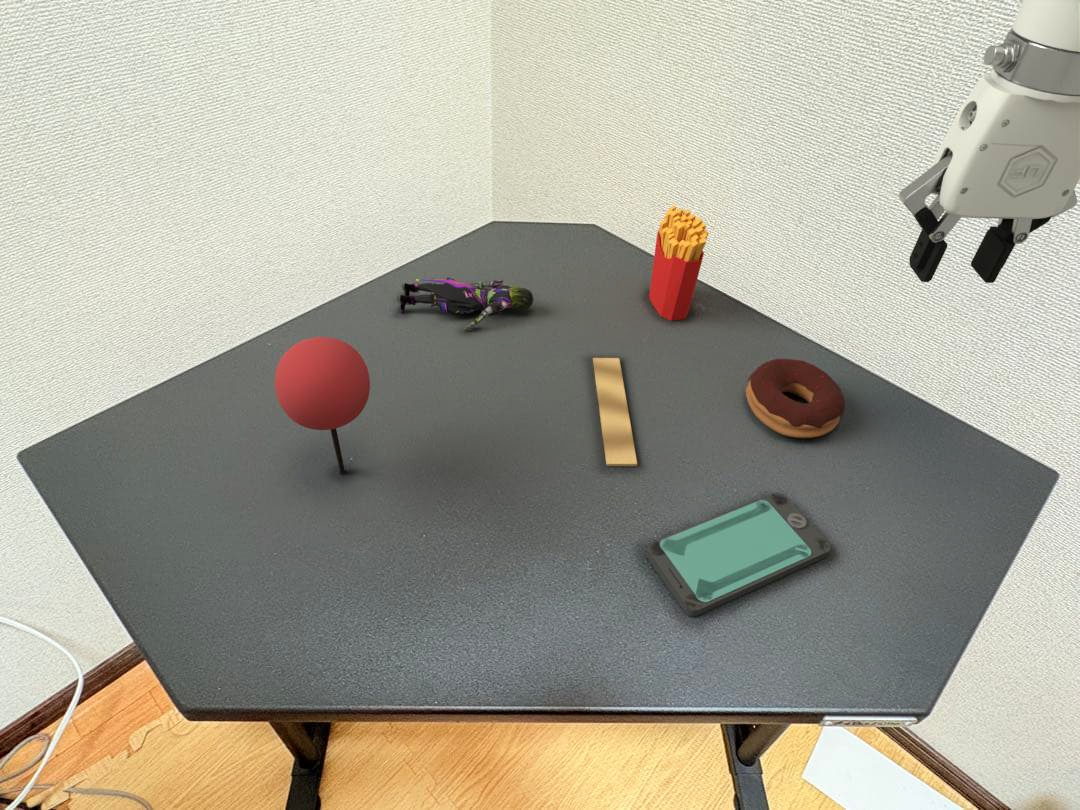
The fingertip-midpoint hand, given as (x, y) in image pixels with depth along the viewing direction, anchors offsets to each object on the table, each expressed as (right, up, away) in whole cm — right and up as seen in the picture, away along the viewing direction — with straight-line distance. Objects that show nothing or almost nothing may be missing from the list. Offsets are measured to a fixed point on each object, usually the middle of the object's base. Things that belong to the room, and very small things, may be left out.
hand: (950, 272), depth 66 cm
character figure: (-46, 0, +23) cm, 51 cm away
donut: (-11, -13, +12) cm, 20 cm away
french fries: (-21, 0, +25) cm, 33 cm away
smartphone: (-20, -25, -2) cm, 32 cm away
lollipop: (-56, -18, +3) cm, 59 cm away
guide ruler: (-30, -13, +11) cm, 34 cm away
